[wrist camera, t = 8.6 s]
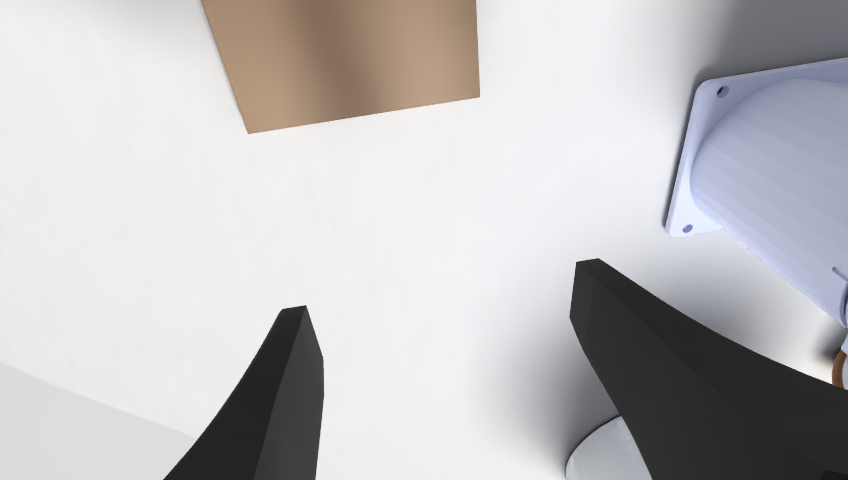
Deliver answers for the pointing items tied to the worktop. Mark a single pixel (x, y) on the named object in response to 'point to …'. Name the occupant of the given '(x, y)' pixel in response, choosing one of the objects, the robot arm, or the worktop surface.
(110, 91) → the worktop surface
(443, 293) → the worktop surface
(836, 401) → the robot arm
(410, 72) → the end holder
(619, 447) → the utensil holder
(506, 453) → the worktop surface
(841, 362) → the tin
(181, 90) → the worktop surface
